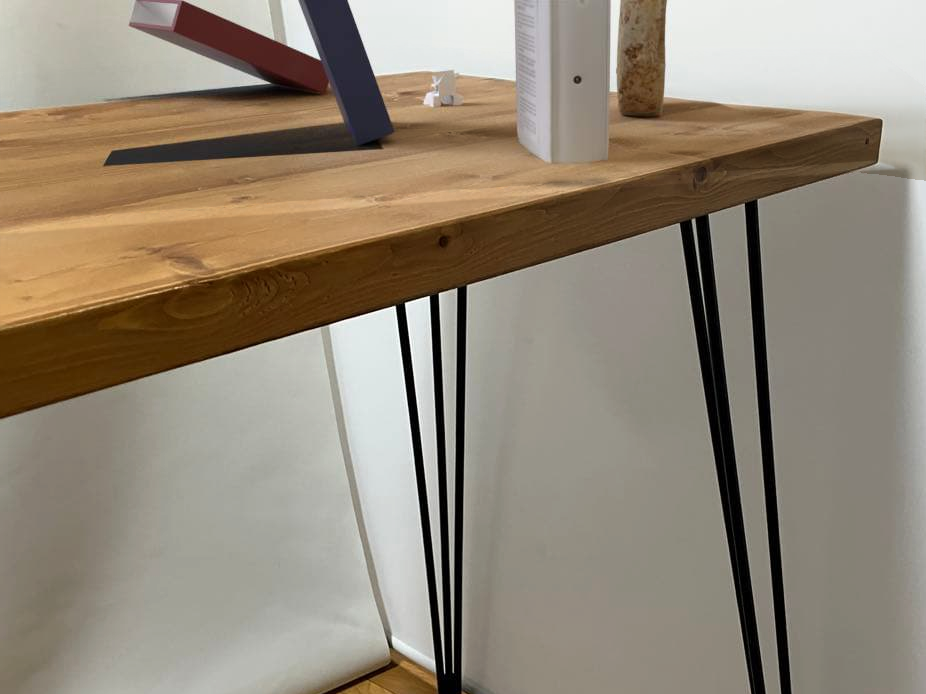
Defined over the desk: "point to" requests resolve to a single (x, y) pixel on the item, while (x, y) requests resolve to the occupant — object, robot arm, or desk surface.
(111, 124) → the desk surface
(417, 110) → the desk surface
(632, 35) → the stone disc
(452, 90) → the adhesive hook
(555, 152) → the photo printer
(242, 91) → the mat back
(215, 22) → the burgundy book
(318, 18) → the navy book
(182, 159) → the mat front
